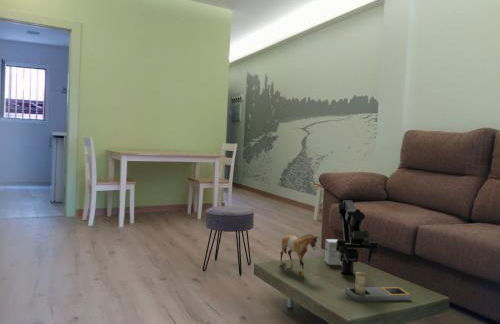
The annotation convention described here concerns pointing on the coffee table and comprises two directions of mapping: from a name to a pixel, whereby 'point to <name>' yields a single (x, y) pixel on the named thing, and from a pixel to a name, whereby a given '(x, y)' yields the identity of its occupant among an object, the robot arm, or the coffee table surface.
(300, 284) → the coffee table surface
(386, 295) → the board with square holes
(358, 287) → the peg
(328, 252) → the supplement box
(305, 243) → the horse figurine
